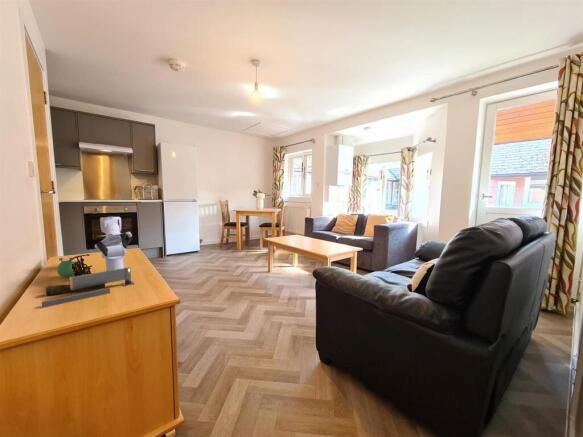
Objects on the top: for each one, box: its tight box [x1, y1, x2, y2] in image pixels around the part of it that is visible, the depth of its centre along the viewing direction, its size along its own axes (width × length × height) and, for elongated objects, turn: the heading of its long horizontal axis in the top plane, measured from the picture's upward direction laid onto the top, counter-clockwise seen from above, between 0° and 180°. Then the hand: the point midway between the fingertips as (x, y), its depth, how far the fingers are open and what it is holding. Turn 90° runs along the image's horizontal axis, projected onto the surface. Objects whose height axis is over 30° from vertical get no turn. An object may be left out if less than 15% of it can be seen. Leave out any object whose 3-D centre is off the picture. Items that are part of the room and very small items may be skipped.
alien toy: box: [56, 257, 76, 279], centre depth 120 cm, size 7×8×10 cm
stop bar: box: [41, 287, 111, 308], centre depth 95 cm, size 2×20×2 cm, turn 133°
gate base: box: [122, 280, 135, 287], centre depth 112 cm, size 4×4×1 cm
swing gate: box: [69, 266, 132, 290], centre depth 105 cm, size 21×2×7 cm, turn 133°
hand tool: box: [45, 283, 106, 297], centre depth 103 cm, size 19×4×5 cm, turn 116°
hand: (115, 250), depth 107 cm, fingers open, 7 cm apart
